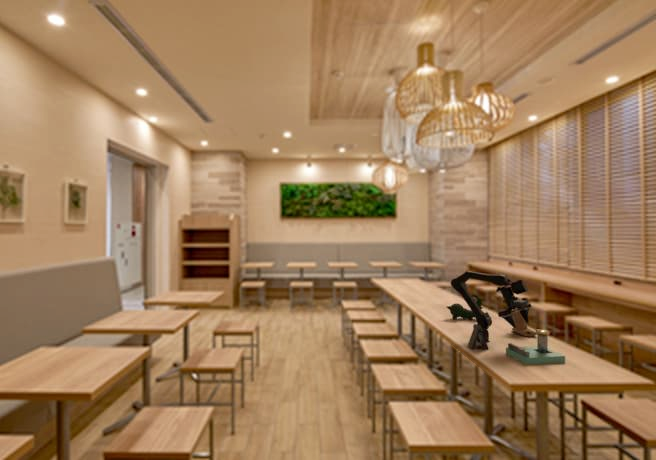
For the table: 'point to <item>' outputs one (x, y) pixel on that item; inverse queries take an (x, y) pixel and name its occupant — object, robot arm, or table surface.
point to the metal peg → (542, 341)
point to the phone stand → (473, 339)
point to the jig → (533, 355)
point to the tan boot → (521, 325)
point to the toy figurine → (464, 309)
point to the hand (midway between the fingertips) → (521, 325)
